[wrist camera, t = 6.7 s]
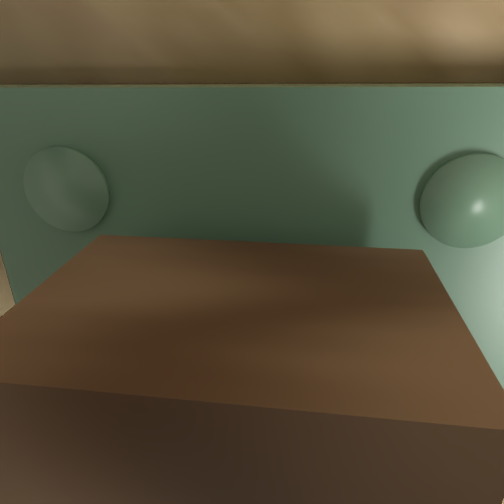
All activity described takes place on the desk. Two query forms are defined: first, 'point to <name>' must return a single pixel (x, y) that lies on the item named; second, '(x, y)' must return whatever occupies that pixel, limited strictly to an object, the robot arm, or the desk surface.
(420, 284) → the walnut brick
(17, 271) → the baseplate
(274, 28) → the desk surface
